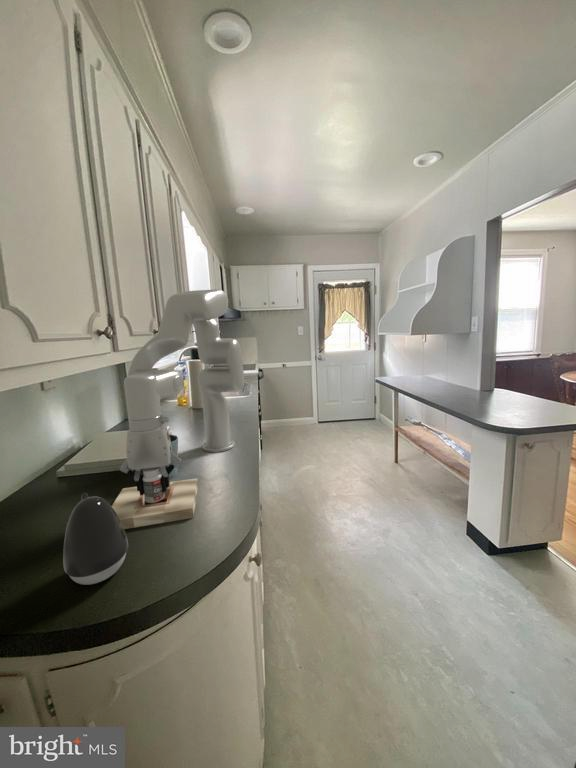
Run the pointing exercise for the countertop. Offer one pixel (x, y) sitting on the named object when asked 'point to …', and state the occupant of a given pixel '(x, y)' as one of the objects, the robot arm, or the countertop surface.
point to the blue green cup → (175, 449)
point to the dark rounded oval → (93, 541)
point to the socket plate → (157, 505)
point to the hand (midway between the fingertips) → (154, 490)
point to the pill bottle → (152, 485)
